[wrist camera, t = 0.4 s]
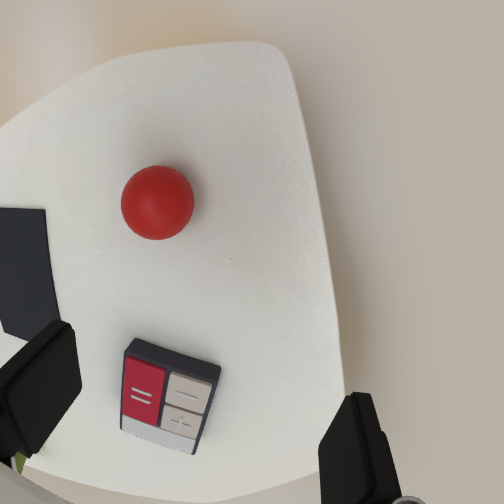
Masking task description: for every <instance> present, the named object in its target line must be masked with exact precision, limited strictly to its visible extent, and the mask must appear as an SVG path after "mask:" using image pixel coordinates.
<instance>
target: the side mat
mask: <svg viewBox="0 0 504 504" xmlns="http://www.w3.org/2000/svg"><path fill="white" fill-rule="evenodd" d="M54 319H59V320H61V319H60V314H59V310H58V305H57V299H56V294H55V289H54V283H53V277H52V270H51V263H50V256H49V248H48V239H47V228H46V217H45V210H42V209H19V208H0V320H1V323H2V327H3V330H4V332H5V333H7V334H10V335H13V336H15V337H18V338H21V339H23V340H26V341H30V340H31V339H32V338H33V337H35V336H36V335H37V334H38V333H39V332H40V331H41V330H42V329H43V328H45V327H46V326H47V325H48V324H49V323H50V322H51V321H53V320H54Z"/></svg>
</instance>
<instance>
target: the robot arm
mask: <svg viewBox="0 0 504 504" xmlns="http://www.w3.org/2000/svg"><path fill="white" fill-rule="evenodd" d="M81 389H82V380H81V374H80V368H79V361H78V354H77V347H76V338H75V331H74V330H73V329H72V327H71V325H70V324H69V323H67V322H64V321H62V320H59V319H54V320H53V321H51V322H50V323H49V324H48V325H47V326H46V327H45V328H43V329H42V330H41V331H40V332H39V333H38V334H37V335H36V336H35V337H33V338H32V339H31V340H30V341H29V342H28V343H27V344H26V345H25V346H24V347H23V348H21V349H20V350H19V351H18V352H17V353H16V354H15V355H14V356H13V357H12V358H11V359H10V360H9V361H8V362H7V363H6V364H4V365H3V366H2V367H1V368H0V504H73V503H71V502H69V501H67V500H64V499H63V498H61V497H59V496H57V495H55V494H53V493H51V492H49V491H48V490H46V489H44V488H42V487H40V486H39V485H37V484H35V483H34V482H32V481H30V480H29V479H27V478H25V477H24V476H22V475H20V474H19V473H17V468H16V462H15V454H16V453H17V452H19V453H21V454H22V455H24V456H26V457H27V458H29V459H30V457H31V456H32V454H33V453H34V454H36V453H38V452H39V450H40V449H41V447H42V446H43V444H44V443H45V441H46V440H47V439H48V437H49V436H50V434H51V433H52V431H53V430H54V428H55V427H56V426H57V424H58V423H59V421H60V420H61V418H62V417H63V416H64V414H65V413H66V411H67V410H68V409H69V407H70V406H71V404H72V403H73V402H74V400H75V399H76V397H77V396H78V395H79V393H80V392H81ZM318 457H319V472H320V487H321V504H425V503H424V502H423V501H422V500H420V499H419V498H416V497H414V496H404V497H402V494H401V489H400V485H399V481H398V477H397V473H396V470H395V466H394V462H393V458H392V455H391V451H390V447H389V443H388V440H387V437H386V435H385V433H384V432H383V431H381V428H380V424H379V421H378V418H377V414H376V410H375V407H374V404H373V400H372V397H371V395H370V394H369V393H361V392H353V393H352V394H351V395H350V396H348V395H347V396H346V397H345V398H344V400H343V402H342V404H341V406H340V408H339V410H338V412H337V414H336V415H335V417H334V419H333V421H332V423H331V425H330V426H329V428H328V430H327V432H326V433H325V435H324V437H323V439H322V440H321V442H320V444H319V448H318Z"/></svg>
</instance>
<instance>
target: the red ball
mask: <svg viewBox="0 0 504 504" xmlns="http://www.w3.org/2000/svg"><path fill="white" fill-rule="evenodd" d="M193 209H194V195H193V191H192V188H191V186H190V184H189V182H188V181H187V180H186V178H185V177H184V176H183V175H182V174H181V173H179V172H178V171H176V170H174V169H172V168H170V167H166V166H151V167H147V168H144V169H142V170H140V171H139V172H137V173H136V174H134V175H133V176H132V177H131V178H130V180H129V181H128V182H127V184H126V186H125V188H124V190H123V193H122V198H121V210H122V214H123V217H124V220H125V222H126V223H127V225H128V226H129V227H130V228H131V229H132V231H134V232H135V233H136V234H138V235H139V236H141V237H144V238H147V239H151V240H163V239H167V238H170V237H172V236H174V235H176V234H177V233H179V232H180V231H181V230H182V229H183V228H184V227H185V226H186V225H187V223H188V222H189V220H190V218H191V216H192V213H193Z"/></svg>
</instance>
